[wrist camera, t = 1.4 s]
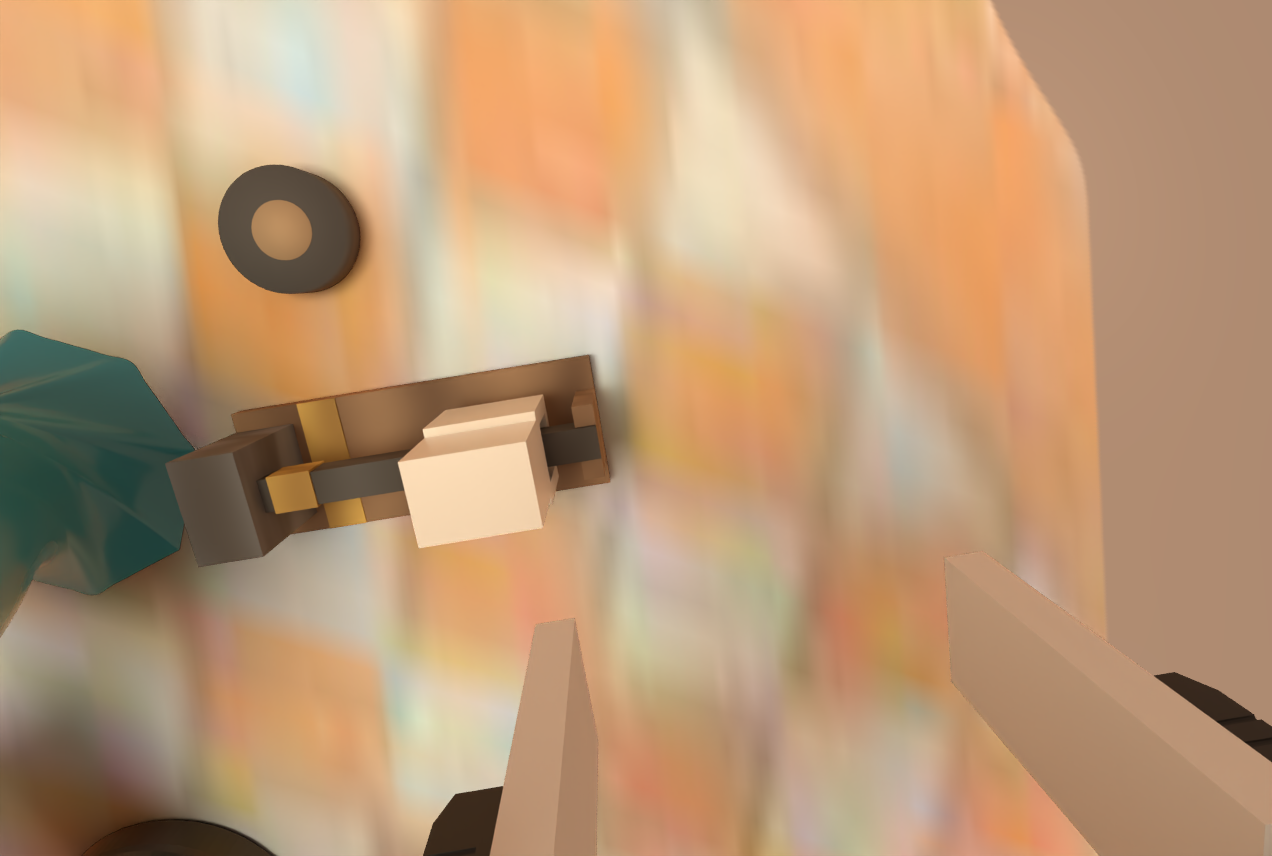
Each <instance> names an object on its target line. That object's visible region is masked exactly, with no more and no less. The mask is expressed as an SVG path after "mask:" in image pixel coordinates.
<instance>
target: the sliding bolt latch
mask: <svg viewBox="0 0 1272 856" xmlns="http://www.w3.org/2000/svg"><path fill="white" fill-rule="evenodd" d="M542 394H543V396H544V401H545V407H546V412H547V417H548V423H549V427H543V428H540V431H541V436H542V441H543V446H544V451H545V457H546V462H547V467H552V466H557V470H558V475H559V478H558V482H557V487H556V491H560V490H566V489H572V488H578V487H584V486H590V485H597V484H603V483H609V482H610V475H609V469H608V463H607V457H606V451H605V445H604V440H603V434H602V428H601V422H600V416H599V411H598V405H597V399H596V393H595V387H594V381H593V376H592V370H591V364H590V358H589V355H584V356H578V357H572V358H566V359H559V360H553V361H547V362H541V363H535V364H528V365H522V366H516V367H510V368H504V369H497V370H491V371H485V372H479V373H473V374H466V375H460V376H454V377H448V378H442V379H435V380H429V381H423V382H417V383H411V384H404V385H398V386H392V387H386V388H380V389H373V390H367V391H361V392H355V393H349V394H342V395H336V396H330V397H324V398H318V399H311V400H305V401H299V402H293V403H287V404H280V405H274V406H268V407H262V408H255V409H249V410H243V411H239V412H236V413H234V414H231V416H232V420H233V423H234V426H235V430H236V433H235V434H233V435H230V436H228V437H226V438H223V439H221V440H219V441H216V442H214V443H212V444H209V445H207V446H205V447H202V448H200V449H198V450H195V451H193V452H191V453H188V454H186V455H184V456H181V457H179V458H177V459H174V460H172V461H169V462H167V463H165V465H166V469H167V472H168V475H169V478H170V481H171V484H172V487H173V490H174V493H175V496H176V499H177V502H178V506H179V509H180V512H181V515H182V518H183V521H184V524H185V527H186V530H187V533H188V536H189V539H190V543H191V546H192V549H193V552H194V555H195V558H196V561H197V564H198V567H202V566H208V565H215V564H221V563H227V562H233V561H239V560H245V559H251V558H257V557H263V556H265V555H266V554H267V553H268V552H269V551H271V550H272V549H273V548H274V547H276V546H277V545H278V544H279V543H280V542H282V541H283V540H284V539H285V538H286V537H288V536H289V535H290V534H296V533H302V532H308V531H314V530H320V529H327V528H336V527H342V526H348V525H354V524H361V523H366V522H369V521H376V520H382V519H388V518H394V517H400V516H406V515H411V514H410V510H409V506H408V502H407V498H406V494H405V490H404V486H403V482H402V478H401V474H400V469H399V465H398V462H399V461H400V460H401V459H402V458H403V457H404V456H405V455H406V454H407V453H409V452H410V451H411V450H412V449H413V448H414V447H415V446H416V445H417V444H418V443H420V442H421V441H422V440H423V439H424V434H423V429H424V428H425V427H426V426H427V425H428V424H429V423H431V422H432V421H433V420H434V419H435V418H437V417H438V416H439V415H440V414H441V413H442V412H444V411H445V410H449V409H455V408H462V407H468V406H474V405H480V404H486V403H492V402H499V401H505V400H511V399H517V398H523V397H530V396H536V395H542Z"/></svg>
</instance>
